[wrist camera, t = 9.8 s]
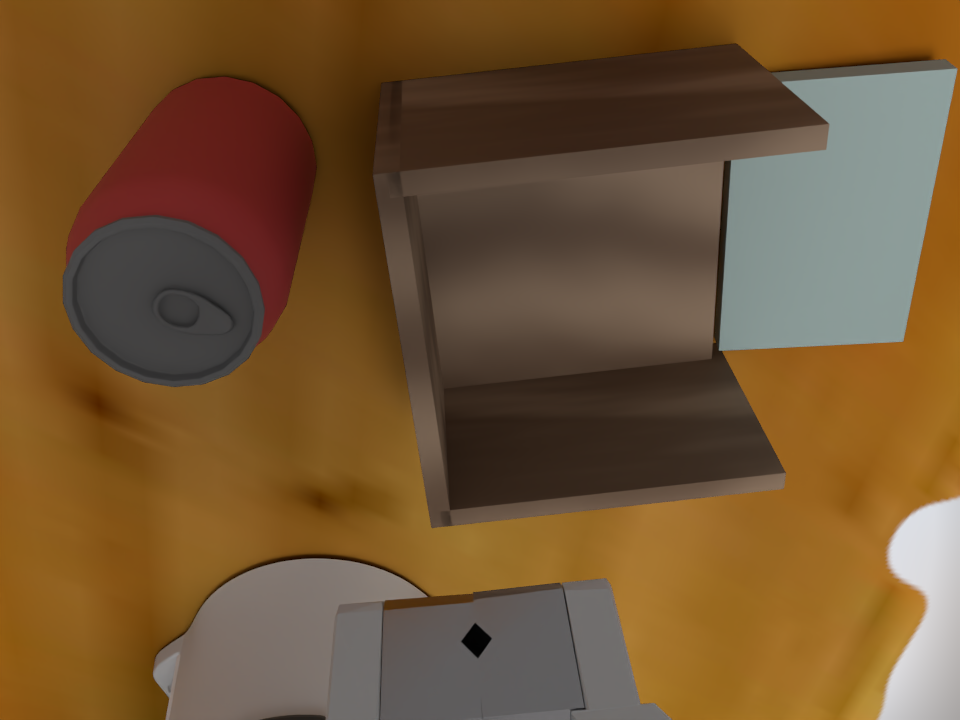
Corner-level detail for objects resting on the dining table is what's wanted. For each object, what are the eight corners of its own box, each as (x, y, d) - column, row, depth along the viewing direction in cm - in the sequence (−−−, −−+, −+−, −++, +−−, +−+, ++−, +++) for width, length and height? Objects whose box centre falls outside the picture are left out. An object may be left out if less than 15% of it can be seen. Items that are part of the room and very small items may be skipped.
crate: (716, 357, 42) (783, 488, 35) (428, 389, 42) (431, 527, 35) (736, 43, 34) (829, 124, 27) (381, 82, 34) (372, 174, 27)
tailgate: (714, 336, 42) (893, 327, 41) (718, 350, 41) (903, 341, 40) (730, 75, 35) (945, 59, 34) (736, 85, 34) (957, 68, 33)
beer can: (291, 253, 38) (247, 427, 28) (131, 200, 36) (25, 365, 26) (340, 110, 35) (311, 249, 25) (167, 44, 33) (62, 165, 23)
